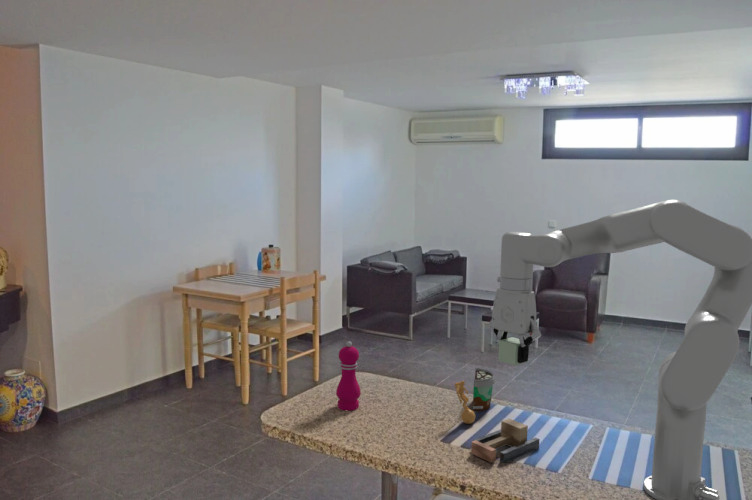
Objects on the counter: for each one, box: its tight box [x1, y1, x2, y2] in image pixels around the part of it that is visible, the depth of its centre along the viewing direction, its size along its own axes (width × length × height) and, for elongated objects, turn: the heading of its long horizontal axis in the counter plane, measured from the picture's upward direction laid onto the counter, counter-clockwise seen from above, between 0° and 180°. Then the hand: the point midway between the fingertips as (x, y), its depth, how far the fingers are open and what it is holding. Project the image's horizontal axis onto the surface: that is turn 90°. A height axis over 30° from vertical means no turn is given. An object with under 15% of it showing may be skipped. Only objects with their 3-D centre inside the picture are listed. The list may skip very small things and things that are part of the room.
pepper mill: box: [335, 340, 362, 412], centre depth 182 cm, size 7×7×20 cm
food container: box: [472, 367, 496, 412], centre depth 185 cm, size 12×6×10 cm, turn 168°
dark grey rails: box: [472, 429, 540, 464], centre depth 156 cm, size 10×14×2 cm
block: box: [497, 336, 529, 366], centre depth 148 cm, size 5×5×5 cm
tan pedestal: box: [470, 418, 529, 464], centre depth 154 cm, size 6×14×6 cm, turn 129°
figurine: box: [454, 380, 476, 425], centre depth 172 cm, size 8×6×12 cm
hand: (513, 358), depth 148 cm, fingers closed on block, 5 cm apart
